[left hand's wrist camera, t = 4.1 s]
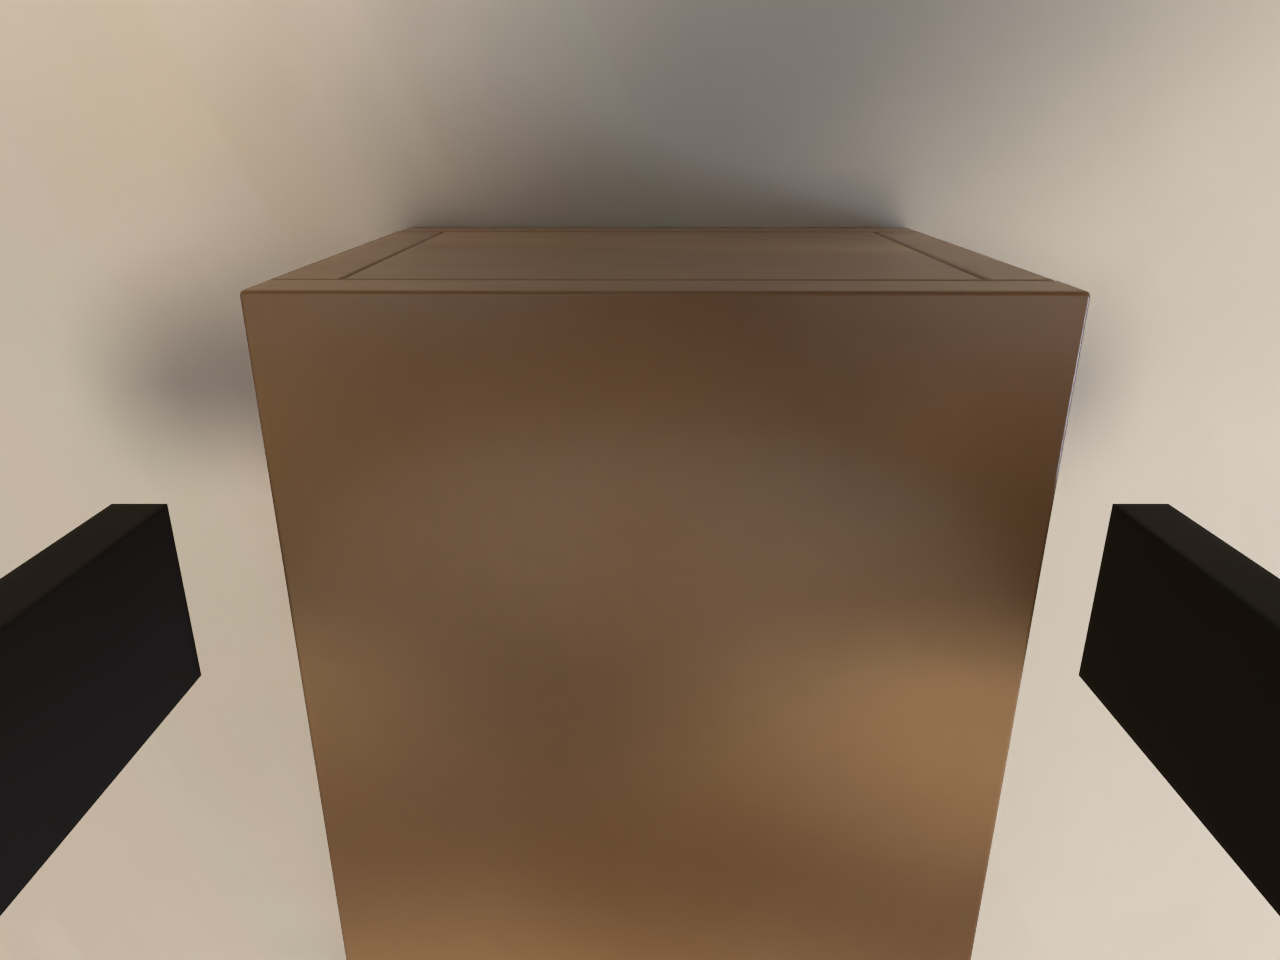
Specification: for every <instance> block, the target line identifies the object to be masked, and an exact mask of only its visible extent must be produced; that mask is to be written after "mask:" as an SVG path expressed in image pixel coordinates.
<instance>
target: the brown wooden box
mask: <svg viewBox="0 0 1280 960" xmlns="http://www.w3.org/2000/svg"><path fill="white" fill-rule="evenodd" d="M240 297H241V303H242V310H243V316H244V322H245V328H246V335H247V341H248V347H249V353H250V360H251V366H252V372H253V378H254V384H255V391H256V397H257V403H258V409H259V416H260V422H261V428H262V434H263V441H264V447H265V453H266V459H267V466H268V472H269V478H270V484H271V491H272V497H273V503H274V509H275V516H276V522H277V528H278V534H279V541H280V547H281V553H282V559H283V565H284V572H285V578H286V584H287V590H288V597H289V603H290V609H291V615H292V622H293V628H294V634H295V640H296V647H297V653H298V659H299V665H300V672H301V678H302V684H303V690H304V697H305V703H306V709H307V715H308V721H309V728H310V734H311V740H312V746H313V753H314V759H315V765H316V771H317V778H318V784H319V790H320V796H321V803H322V809H323V815H324V821H325V828H326V834H327V840H328V846H329V853H330V859H331V865H332V871H333V877H334V884H335V890H336V896H337V902H338V909H339V915H340V921H341V927H342V934H343V940H344V946H345V952H346V959H347V960H971V954H972V949H973V943H974V937H975V932H976V926H977V921H978V915H979V910H980V904H981V899H982V893H983V888H984V882H985V876H986V871H987V865H988V860H989V854H990V849H991V843H992V838H993V832H994V827H995V821H996V815H997V810H998V804H999V799H1000V793H1001V788H1002V782H1003V777H1004V771H1005V766H1006V760H1007V754H1008V749H1009V743H1010V738H1011V732H1012V727H1013V721H1014V716H1015V710H1016V705H1017V699H1018V693H1019V688H1020V682H1021V677H1022V671H1023V666H1024V660H1025V655H1026V649H1027V644H1028V638H1029V632H1030V627H1031V621H1032V616H1033V610H1034V605H1035V599H1036V594H1037V588H1038V583H1039V577H1040V572H1041V566H1042V560H1043V555H1044V549H1045V544H1046V538H1047V533H1048V527H1049V522H1050V516H1051V511H1052V505H1053V499H1054V494H1055V488H1056V483H1057V477H1058V472H1059V466H1060V461H1061V455H1062V450H1063V444H1064V438H1065V433H1066V427H1067V422H1068V416H1069V411H1070V405H1071V400H1072V394H1073V389H1074V383H1075V377H1076V372H1077V366H1078V361H1079V355H1080V350H1081V344H1082V339H1083V333H1084V328H1085V322H1086V316H1087V311H1088V305H1089V300H1090V294H1089V292H1087V291H1084V290H1081V289H1078V288H1076V287H1073V286H1070V285H1067V284H1064V283H1061V282H1059V281H1054V280H1051V279H1049V278H1046V277H1043V276H1040V275H1037V274H1035V273H1032V272H1029V271H1026V270H1023V269H1021V268H1018V267H1015V266H1012V265H1009V264H1007V263H1004V262H1001V261H998V260H995V259H993V258H990V257H987V256H984V255H981V254H979V253H976V252H973V251H970V250H967V249H964V248H962V247H959V246H956V245H953V244H950V243H948V242H945V241H942V240H939V239H936V238H934V237H931V236H928V235H925V234H922V233H920V232H916V231H913V230H910V229H908V228H498V227H411V228H408V229H406V230H403V231H401V232H395V233H393V234H390V235H387V236H385V237H382V238H379V239H377V240H374V241H371V242H369V243H366V244H364V245H361V246H358V247H356V248H353V249H350V250H348V251H345V252H342V253H340V254H337V255H334V256H332V257H329V258H326V259H324V260H321V261H318V262H316V263H313V264H310V265H308V266H305V267H302V268H300V269H297V270H294V271H292V272H289V273H286V274H284V275H281V276H279V277H276V278H273V279H271V280H269V281H266V282H264V283H261V284H258V285H256V286H253V287H250V288H248V289H245V290H243V291H241V294H240Z"/></svg>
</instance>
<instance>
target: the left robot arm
mask: <svg viewBox="0 0 1280 960" xmlns="http://www.w3.org/2000/svg"><path fill="white" fill-rule="evenodd" d="M200 676H201V672H200V667H199V662H198V657H197V652H196V647H195V642H194V637H193V632H192V627H191V622H190V617H189V612H188V607H187V602H186V597H185V592H184V587H183V582H182V577H181V572H180V567H179V562H178V557H177V551H176V546H175V541H174V536H173V531H172V526H171V521H170V516H169V511H168V506H167V504H111V505H110V506H108V507H107V508H105V509H104V510H102V511H101V512H99V513H98V514H96V515H95V516H93V517H92V518H90V519H89V520H87V521H86V522H84V523H83V524H81V525H80V526H78V527H77V528H75V529H74V530H72V531H71V532H69V533H68V534H66V535H65V536H64V537H62V538H61V539H59V540H58V541H56V542H55V543H53V544H52V545H50V546H49V547H47V548H46V549H44V550H43V551H41V552H40V553H38V554H37V555H35V556H34V557H32V558H31V559H29V560H28V561H26V562H25V563H23V564H22V565H20V566H19V567H17V568H16V569H14V570H13V571H11V572H10V573H8V574H7V575H5V576H4V577H2V578H1V579H0V916H1V914H2V913H3V912H4V911H5V910H6V908H7V907H8V906H9V905H10V904H11V902H12V901H13V900H14V899H15V898H16V896H17V895H18V894H19V893H20V892H21V890H22V889H23V888H24V887H25V886H26V884H27V883H28V882H29V881H30V880H31V878H32V877H33V876H34V875H35V874H36V872H37V871H38V870H39V869H40V868H41V866H42V865H43V864H44V863H45V862H46V860H47V859H48V858H49V857H50V856H51V854H52V853H53V852H54V851H55V850H56V848H57V847H58V846H59V845H60V844H61V842H62V841H63V840H64V839H65V838H66V836H67V835H68V834H69V833H70V832H71V830H72V829H73V828H74V827H75V826H76V824H77V823H78V822H79V821H80V820H81V818H82V817H83V816H84V815H85V814H86V812H87V811H88V810H89V809H90V808H91V807H92V805H93V804H94V803H95V802H96V801H97V799H98V798H99V797H100V796H101V795H102V793H103V792H104V791H105V790H106V789H107V787H108V786H109V785H110V784H111V783H112V781H113V780H114V779H115V778H116V777H117V775H118V774H119V773H120V772H121V771H122V769H123V768H124V767H125V766H126V765H127V763H128V762H129V761H130V760H131V759H132V757H133V756H134V755H135V754H136V753H137V751H138V750H139V749H140V748H141V747H142V745H143V744H144V743H145V742H146V741H147V739H148V738H149V737H150V736H151V735H152V733H153V732H154V731H155V730H156V729H157V727H158V726H159V725H160V724H161V723H162V721H163V720H164V719H165V718H166V717H167V715H168V714H169V713H170V712H171V711H172V709H173V708H174V707H175V706H176V705H177V703H178V702H179V701H180V700H181V699H182V697H183V696H184V695H185V694H186V693H187V691H188V690H189V689H190V688H191V687H192V685H193V684H194V683H195V682H196V681H197V679H198V678H199V677H200ZM1079 676H1080V677H1081V678H1082V679H1083V681H1084V682H1085V683H1086V684H1087V685H1088V687H1089V688H1090V689H1091V690H1092V691H1093V693H1094V694H1095V695H1096V696H1097V697H1098V699H1099V700H1100V701H1101V702H1102V703H1103V705H1104V706H1105V707H1106V708H1107V709H1108V711H1109V712H1110V713H1111V714H1112V715H1113V717H1114V718H1115V719H1116V720H1117V721H1118V723H1119V724H1120V725H1121V726H1122V727H1123V729H1124V730H1125V731H1126V732H1127V733H1128V735H1129V736H1130V737H1131V738H1132V739H1133V741H1134V742H1135V743H1136V744H1137V745H1138V747H1139V748H1140V749H1141V750H1142V751H1143V753H1144V754H1145V755H1146V756H1147V757H1148V759H1149V760H1150V761H1151V762H1152V763H1153V765H1154V766H1155V767H1156V768H1157V769H1158V771H1159V772H1160V773H1161V774H1162V775H1163V777H1164V778H1165V779H1166V780H1167V781H1168V783H1169V784H1170V785H1171V786H1172V787H1173V789H1174V790H1175V791H1176V792H1177V793H1178V795H1179V796H1180V797H1181V798H1182V799H1183V801H1184V802H1185V803H1186V804H1187V805H1188V807H1189V808H1190V809H1191V810H1192V811H1193V812H1194V814H1195V815H1196V816H1197V817H1198V818H1199V820H1200V821H1201V822H1202V823H1203V824H1204V826H1205V827H1206V828H1207V829H1208V830H1209V832H1210V833H1211V834H1212V835H1213V836H1214V838H1215V839H1216V840H1217V841H1218V842H1219V844H1220V845H1221V846H1222V847H1223V848H1224V850H1225V851H1226V852H1227V853H1228V854H1229V856H1230V857H1231V858H1232V859H1233V860H1234V862H1235V863H1236V864H1237V865H1238V866H1239V868H1240V869H1241V870H1242V871H1243V872H1244V874H1245V875H1246V876H1247V877H1248V878H1249V880H1250V881H1251V882H1252V883H1253V884H1254V886H1255V887H1256V888H1257V889H1258V890H1259V892H1260V893H1261V894H1262V895H1263V896H1264V898H1265V899H1266V900H1267V901H1268V902H1269V904H1270V905H1271V906H1272V907H1273V908H1274V910H1275V911H1276V912H1277V913H1278V914H1279V916H1280V579H1279V578H1278V577H1276V576H1275V575H1273V574H1272V573H1270V572H1269V571H1267V570H1266V569H1264V568H1263V567H1261V566H1260V565H1258V564H1257V563H1255V562H1254V561H1252V560H1251V559H1249V558H1248V557H1246V556H1245V555H1243V554H1242V553H1240V552H1239V551H1237V550H1236V549H1234V548H1233V547H1231V546H1230V545H1228V544H1227V543H1225V542H1224V541H1222V540H1221V539H1219V538H1218V537H1216V536H1215V535H1214V534H1212V533H1211V532H1209V531H1208V530H1206V529H1205V528H1203V527H1202V526H1200V525H1199V524H1197V523H1196V522H1194V521H1193V520H1191V519H1190V518H1188V517H1187V516H1185V515H1184V514H1182V513H1181V512H1179V511H1178V510H1176V509H1175V508H1173V507H1172V506H1170V505H1169V504H1113V506H1112V511H1111V516H1110V521H1109V526H1108V531H1107V536H1106V541H1105V546H1104V551H1103V557H1102V562H1101V567H1100V572H1099V577H1098V582H1097V587H1096V592H1095V597H1094V602H1093V607H1092V612H1091V617H1090V622H1089V627H1088V632H1087V637H1086V642H1085V647H1084V652H1083V657H1082V662H1081V667H1080V672H1079Z"/></svg>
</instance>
